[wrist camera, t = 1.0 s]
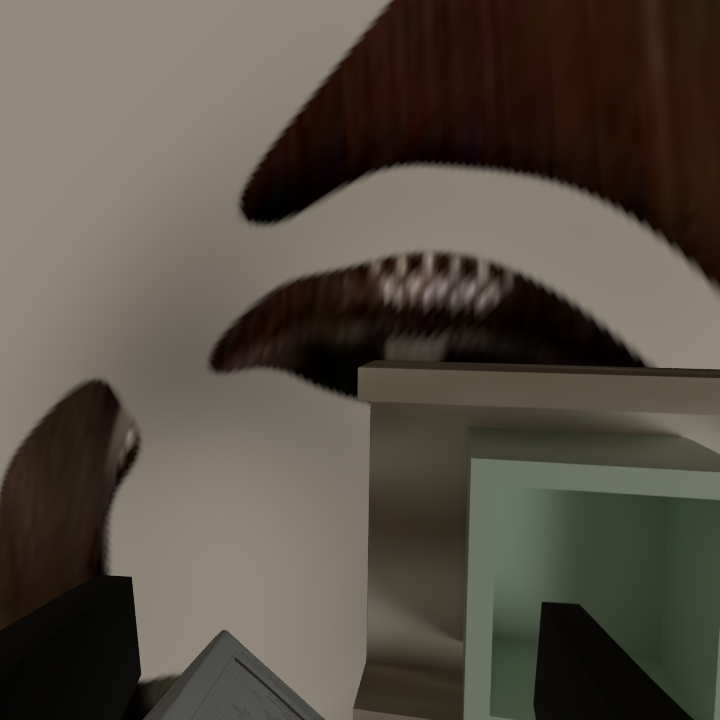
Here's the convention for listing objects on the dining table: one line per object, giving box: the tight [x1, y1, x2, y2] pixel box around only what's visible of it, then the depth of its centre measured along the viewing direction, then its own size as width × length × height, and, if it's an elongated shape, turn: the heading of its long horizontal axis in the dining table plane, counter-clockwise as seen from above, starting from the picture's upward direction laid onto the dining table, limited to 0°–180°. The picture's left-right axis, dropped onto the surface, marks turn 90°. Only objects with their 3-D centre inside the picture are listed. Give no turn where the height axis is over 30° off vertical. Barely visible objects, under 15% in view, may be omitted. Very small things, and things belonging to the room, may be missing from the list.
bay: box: [353, 360, 720, 720], centre depth 20 cm, size 14×22×4 cm, turn 89°
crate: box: [463, 427, 720, 720], centre depth 19 cm, size 9×8×5 cm
